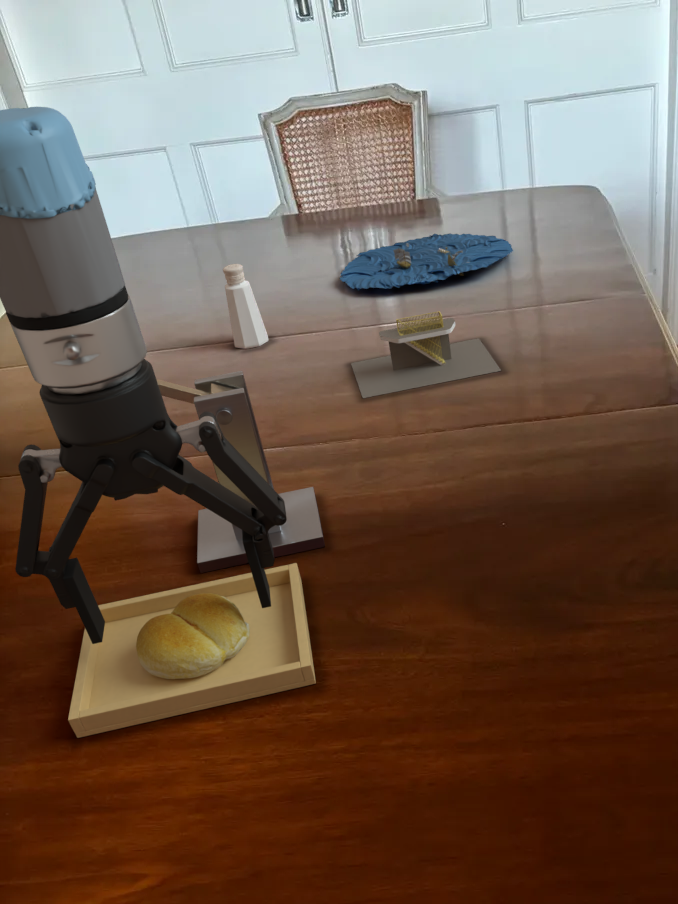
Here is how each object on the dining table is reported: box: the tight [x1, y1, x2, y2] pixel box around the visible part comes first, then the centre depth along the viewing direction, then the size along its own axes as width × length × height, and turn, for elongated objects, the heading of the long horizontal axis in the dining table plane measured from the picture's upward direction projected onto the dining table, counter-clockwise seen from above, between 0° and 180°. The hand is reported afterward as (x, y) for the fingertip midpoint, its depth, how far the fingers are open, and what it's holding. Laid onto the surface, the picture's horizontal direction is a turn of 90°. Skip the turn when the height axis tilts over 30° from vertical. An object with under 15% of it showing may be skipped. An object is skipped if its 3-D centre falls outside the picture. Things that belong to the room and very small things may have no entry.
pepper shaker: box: [222, 263, 270, 350], centre depth 129 cm, size 5×5×11 cm
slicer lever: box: [156, 378, 234, 405], centre depth 79 cm, size 13×6×2 cm, turn 102°
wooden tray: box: [67, 562, 317, 739], centre depth 75 cm, size 19×15×2 cm
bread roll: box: [136, 593, 250, 679], centre depth 74 cm, size 8×9×4 cm
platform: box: [350, 310, 502, 399], centre depth 116 cm, size 12×18×7 cm, turn 102°
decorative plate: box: [339, 232, 514, 292], centre depth 150 cm, size 30×30×5 cm
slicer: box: [193, 370, 326, 574], centre depth 85 cm, size 12×10×16 cm
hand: (183, 615), depth 73 cm, fingers open, 13 cm apart
